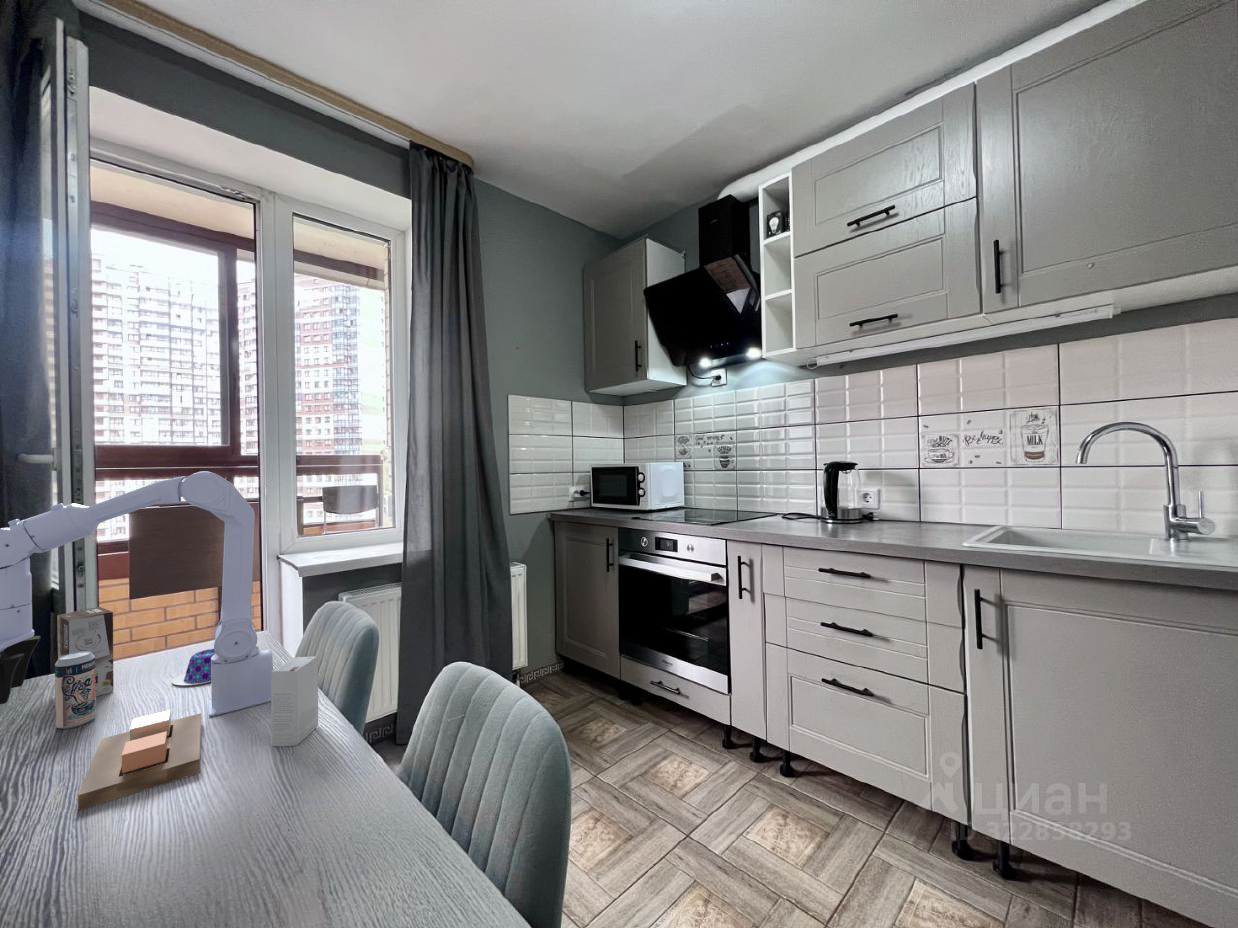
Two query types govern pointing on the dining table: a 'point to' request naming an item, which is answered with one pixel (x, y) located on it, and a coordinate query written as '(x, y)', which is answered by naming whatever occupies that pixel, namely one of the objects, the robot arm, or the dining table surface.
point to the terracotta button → (144, 752)
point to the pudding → (197, 669)
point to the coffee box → (89, 641)
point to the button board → (113, 784)
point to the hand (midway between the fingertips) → (4, 695)
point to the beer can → (75, 689)
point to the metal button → (150, 725)
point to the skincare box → (294, 701)
